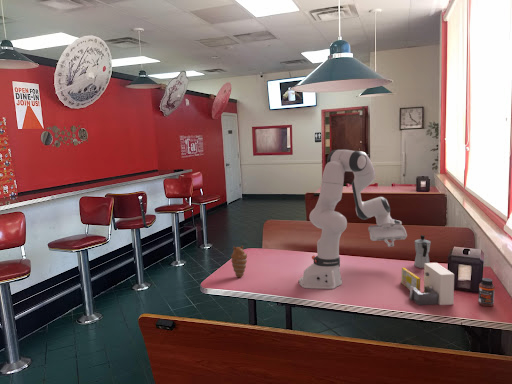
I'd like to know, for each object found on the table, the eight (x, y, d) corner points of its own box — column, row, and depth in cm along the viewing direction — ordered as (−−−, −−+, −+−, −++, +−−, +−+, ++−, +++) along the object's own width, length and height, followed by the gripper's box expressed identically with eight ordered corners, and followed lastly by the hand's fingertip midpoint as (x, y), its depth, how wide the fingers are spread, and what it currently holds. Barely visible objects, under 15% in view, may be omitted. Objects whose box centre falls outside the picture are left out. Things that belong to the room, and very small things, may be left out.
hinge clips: (415, 305, 174) (416, 292, 173) (408, 297, 182) (408, 285, 181) (439, 304, 174) (440, 291, 173) (430, 296, 182) (431, 284, 182)
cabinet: (438, 305, 173) (438, 274, 171) (422, 291, 189) (422, 263, 187) (453, 304, 173) (454, 274, 171) (436, 290, 189) (436, 262, 187)
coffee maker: (411, 262, 232) (412, 232, 229) (427, 262, 230) (428, 232, 228) (416, 270, 217) (417, 239, 215) (433, 270, 216) (434, 239, 213)
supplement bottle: (479, 305, 171) (480, 281, 169) (477, 300, 176) (478, 276, 175) (495, 307, 169) (496, 282, 167) (492, 302, 174) (493, 277, 173)
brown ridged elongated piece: (233, 280, 214) (231, 248, 211) (231, 275, 221) (229, 245, 219) (248, 278, 215) (247, 247, 213) (246, 274, 223) (244, 243, 220)
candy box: (420, 295, 185) (420, 278, 184) (416, 295, 185) (416, 278, 184) (404, 282, 201) (405, 267, 200) (400, 282, 201) (401, 267, 200)
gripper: (368, 222, 222) (374, 244, 214) (404, 221, 222) (411, 242, 214) (366, 228, 227) (371, 249, 219) (401, 227, 227) (407, 248, 219)
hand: (391, 246), depth 216 cm, fingers closed
